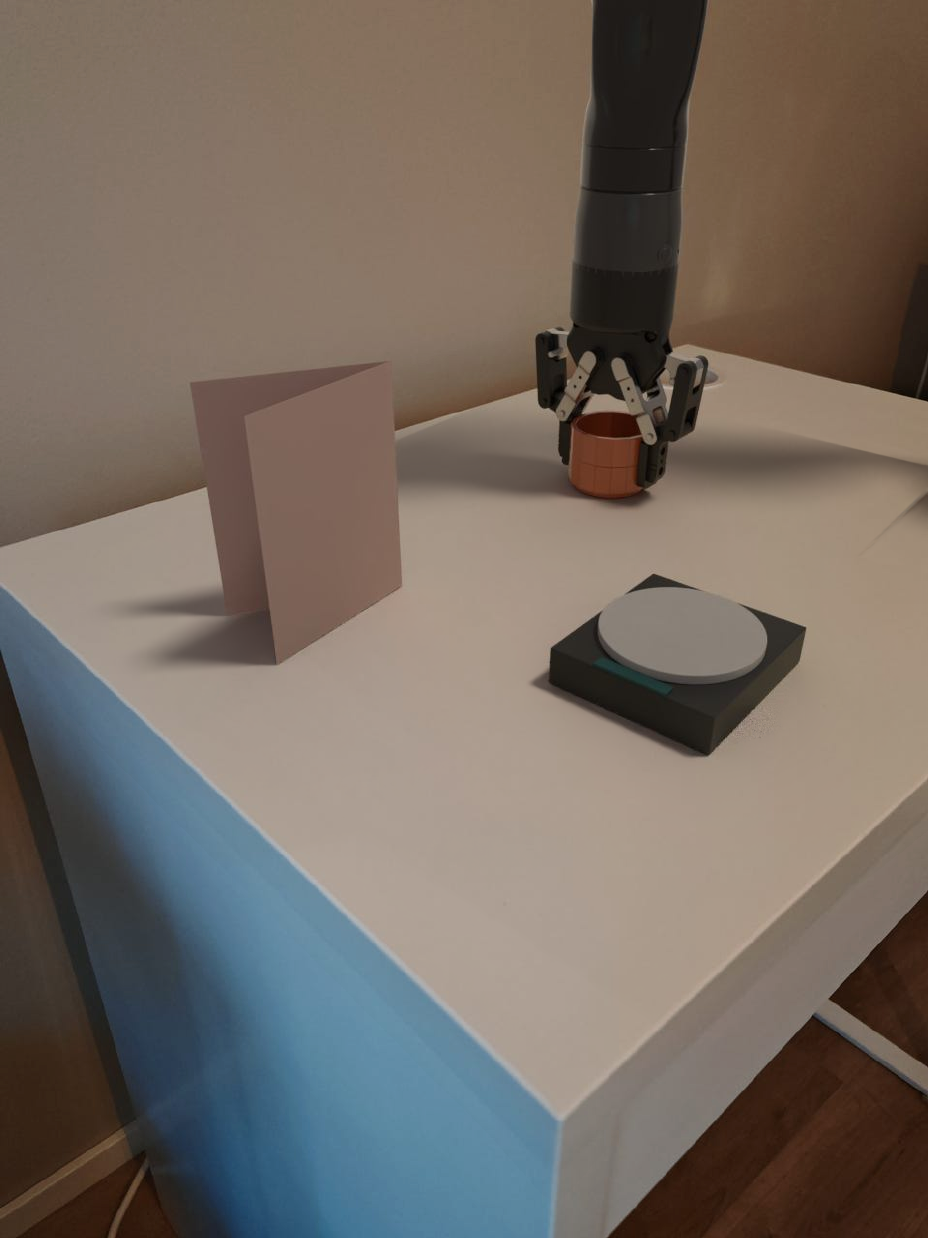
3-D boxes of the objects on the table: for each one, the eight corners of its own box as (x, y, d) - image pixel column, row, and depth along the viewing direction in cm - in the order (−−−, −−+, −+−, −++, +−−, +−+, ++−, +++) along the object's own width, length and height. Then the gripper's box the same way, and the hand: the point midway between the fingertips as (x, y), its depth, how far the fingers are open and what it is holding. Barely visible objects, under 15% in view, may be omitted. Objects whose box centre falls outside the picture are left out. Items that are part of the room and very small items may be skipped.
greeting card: (398, 579, 65) (387, 356, 57) (431, 635, 59) (423, 395, 51) (225, 608, 61) (188, 377, 54) (241, 671, 56) (201, 421, 48)
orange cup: (597, 462, 82) (601, 405, 79) (663, 481, 78) (670, 422, 75) (552, 486, 77) (555, 426, 75) (620, 507, 74) (626, 445, 71)
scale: (649, 605, 61) (654, 564, 60) (800, 661, 56) (809, 617, 54) (548, 683, 54) (550, 638, 53) (708, 756, 49) (716, 708, 47)
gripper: (743, 259, 67) (712, 482, 76) (572, 235, 75) (562, 439, 84) (690, 278, 62) (663, 513, 71) (513, 250, 70) (509, 465, 79)
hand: (608, 472), depth 77 cm, fingers closed on orange cup, 6 cm apart
